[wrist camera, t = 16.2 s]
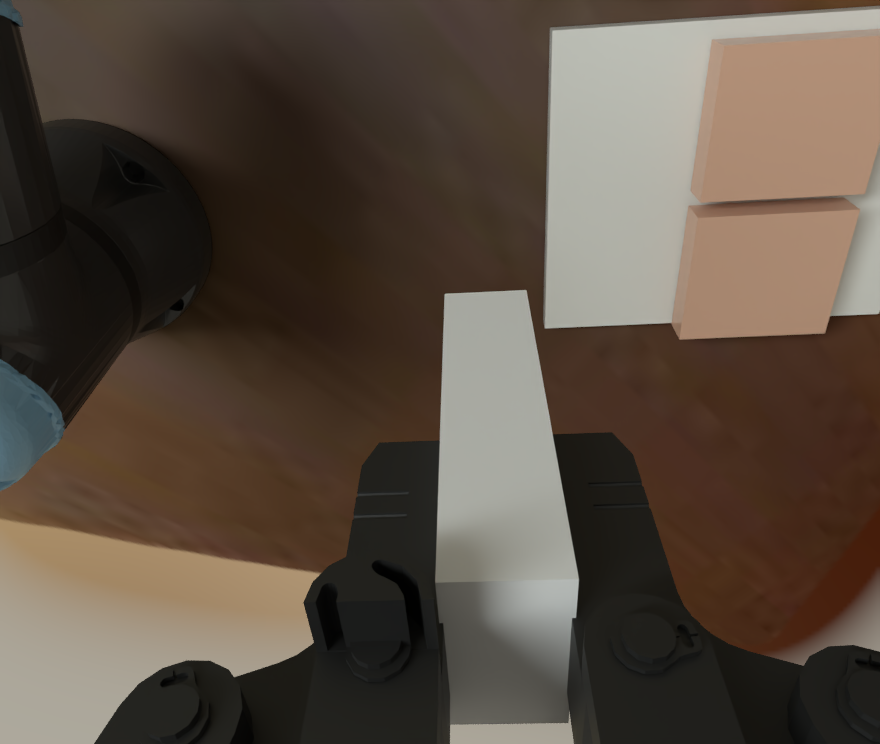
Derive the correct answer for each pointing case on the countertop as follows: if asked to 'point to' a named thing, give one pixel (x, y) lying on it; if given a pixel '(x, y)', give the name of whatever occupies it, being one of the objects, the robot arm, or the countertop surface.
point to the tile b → (789, 116)
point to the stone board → (654, 165)
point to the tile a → (761, 267)
